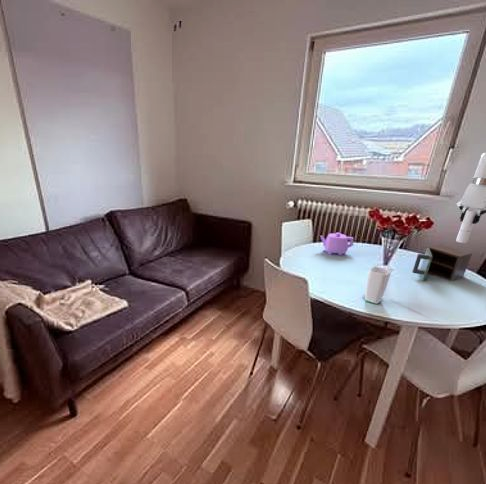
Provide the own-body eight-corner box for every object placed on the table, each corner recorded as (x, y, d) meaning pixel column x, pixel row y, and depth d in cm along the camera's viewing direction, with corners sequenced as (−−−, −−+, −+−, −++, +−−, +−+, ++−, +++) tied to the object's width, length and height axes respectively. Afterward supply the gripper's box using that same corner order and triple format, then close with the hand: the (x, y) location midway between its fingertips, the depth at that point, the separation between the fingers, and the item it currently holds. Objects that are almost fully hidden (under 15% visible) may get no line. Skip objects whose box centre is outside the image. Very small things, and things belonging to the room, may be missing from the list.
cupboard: (450, 282, 158) (460, 256, 152) (421, 271, 170) (429, 247, 164) (462, 278, 163) (472, 253, 157) (433, 267, 175) (441, 244, 169)
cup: (383, 300, 139) (392, 270, 133) (378, 306, 135) (386, 275, 128) (366, 295, 144) (374, 265, 138) (361, 300, 139) (368, 270, 133)
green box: (410, 279, 160) (418, 254, 154) (409, 269, 172) (416, 246, 166) (424, 282, 157) (432, 256, 152) (421, 271, 169) (429, 247, 164)
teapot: (349, 250, 199) (353, 231, 194) (352, 257, 188) (357, 237, 183) (317, 247, 203) (320, 228, 198) (318, 254, 192) (321, 234, 187)
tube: (464, 243, 147) (475, 212, 140) (454, 241, 150) (465, 210, 144) (468, 242, 149) (480, 211, 142) (458, 239, 152) (469, 209, 146)
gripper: (510, 184, 133) (493, 225, 140) (465, 179, 146) (452, 217, 154) (502, 185, 129) (485, 227, 137) (457, 180, 143) (444, 219, 151)
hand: (468, 221), depth 145 cm, fingers closed on tube, 4 cm apart
